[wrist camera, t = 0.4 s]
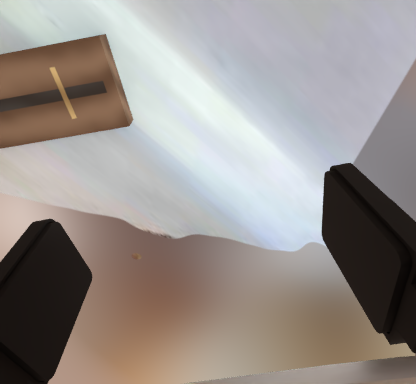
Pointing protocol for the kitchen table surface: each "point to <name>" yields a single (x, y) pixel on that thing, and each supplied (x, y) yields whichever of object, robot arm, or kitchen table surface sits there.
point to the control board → (60, 92)
